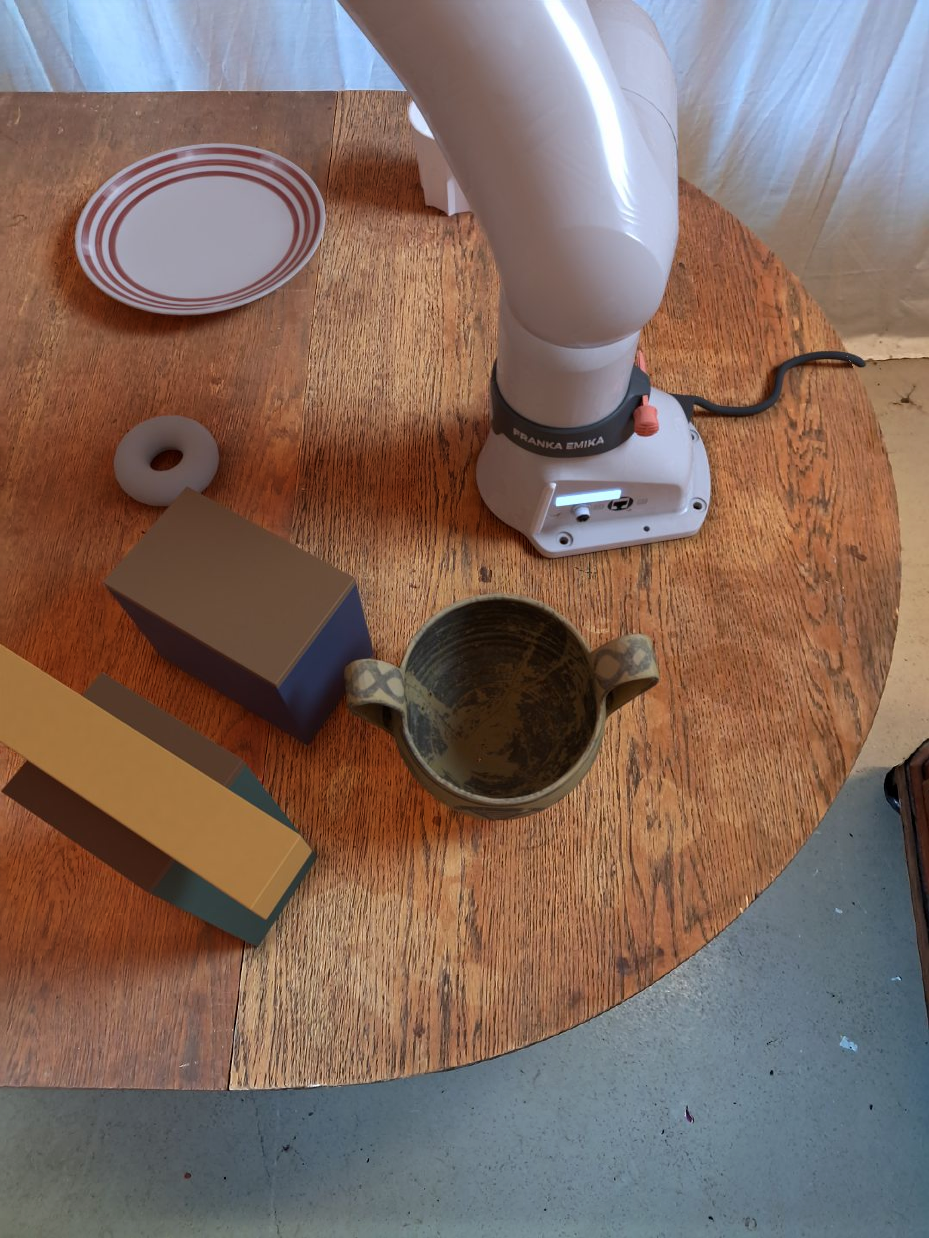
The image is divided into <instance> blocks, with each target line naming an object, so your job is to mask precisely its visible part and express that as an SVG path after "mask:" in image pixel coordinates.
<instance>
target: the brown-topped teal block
mask: <svg viewBox="0 0 929 1238" xmlns="http://www.w3.org/2000/svg"><path fill="white" fill-rule="evenodd" d="M80 695H81V696H83V697H84V698H86V699H87V700H89V701H90V702H92V703H94V704H95V705H97V706H98V707H100V708H101V709H103V710H105V711H106V712H108V713H109V714H111V715H112V716H114V717H116V718H117V719H119V720H120V721H122V722H123V723H125V724H127V725H128V726H130V727H131V728H133V729H134V730H136V731H138V732H139V733H141V734H142V735H144V736H145V737H147V738H149V739H150V740H152V741H153V742H155V743H156V744H158V745H160V746H161V747H163V748H164V749H166V750H167V751H169V752H170V753H172V754H174V755H175V756H177V757H178V758H180V759H181V760H183V761H185V762H186V763H188V764H189V765H191V766H192V767H194V768H196V769H197V770H199V771H200V772H202V773H203V774H205V775H207V776H208V777H210V778H211V779H213V780H214V781H216V782H218V783H219V784H221V785H222V786H224V787H225V788H227V789H229V790H230V791H232V792H233V793H235V794H236V795H238V796H240V797H241V798H243V799H244V800H246V801H247V802H249V803H250V804H252V805H254V806H255V807H257V808H258V809H260V810H261V811H263V812H265V813H266V814H268V815H269V816H271V817H272V818H274V819H276V820H277V821H279V822H280V823H282V824H283V825H285V826H287V827H288V828H290V829H291V830H293V831H294V832H296V833H298V834H299V835H300V836H301V837H302V838H303V840H304V841H305V842H306V843H307V845H308V846H309V847H310V848H311V850H312V852H311V854H310V855H309V857H308V858H307V860H306V861H305V863H304V864H303V866H302V867H301V869H300V870H299V872H298V873H297V875H296V876H295V878H294V879H293V881H292V882H291V884H290V885H289V887H288V888H287V890H286V891H285V892H284V894H283V895H282V897H281V898H280V900H279V901H278V903H277V904H276V906H275V907H274V909H273V910H272V912H271V913H270V915H269V916H268V918H267V919H266V920H265V919H263V918H261V917H260V916H258V915H257V914H255V913H254V912H252V911H251V910H249V909H248V908H246V907H245V906H243V905H242V904H240V903H239V902H237V901H236V900H234V899H233V898H231V897H230V896H228V895H227V894H225V893H224V892H222V891H221V890H219V889H218V888H216V887H215V886H213V885H212V884H210V883H209V882H207V881H206V880H204V879H203V878H201V877H200V876H198V875H197V874H196V873H194V872H193V871H191V870H190V869H188V868H187V867H185V866H184V865H182V864H181V863H179V862H178V861H176V860H175V859H173V858H172V857H170V856H169V855H167V854H166V853H164V852H163V851H161V850H160V849H158V848H157V847H155V846H154V845H152V844H151V843H149V842H148V841H146V840H145V839H143V838H142V837H140V836H139V835H138V834H136V833H135V832H133V831H132V830H130V829H129V828H127V827H126V826H124V825H123V824H121V823H120V822H118V821H117V820H115V819H114V818H112V817H111V816H109V815H108V814H106V813H105V812H103V811H102V810H100V809H99V808H97V807H96V806H94V805H93V804H91V803H90V802H88V801H87V800H85V799H84V798H82V797H81V796H80V795H78V794H77V793H75V792H74V791H72V790H71V789H69V788H68V787H66V786H65V785H63V784H62V783H60V782H59V781H57V780H56V779H54V778H53V777H51V776H50V775H48V774H47V773H45V772H44V771H42V770H41V769H39V768H38V767H36V766H35V765H33V764H32V763H30V762H29V761H27V760H26V761H25V762H24V763H23V764H22V765H21V766H20V768H19V769H18V770H17V771H16V772H15V774H14V775H13V776H12V777H11V778H10V780H9V781H8V782H7V783H6V784H5V785H4V787H3V788H2V789H1V790H0V792H1V793H3V795H5V796H7V797H8V798H9V799H11V800H12V801H14V802H16V803H17V804H18V805H20V806H21V807H22V808H24V809H26V810H27V811H28V812H29V813H31V814H32V815H34V816H36V817H37V818H38V819H40V820H42V821H43V822H44V823H46V824H47V825H49V826H50V827H52V828H53V829H54V830H56V831H58V832H59V833H60V834H62V835H63V836H65V837H66V838H67V839H69V840H71V841H72V842H73V843H75V844H76V845H77V846H79V847H81V848H82V849H83V850H85V851H86V852H88V853H89V854H91V855H92V856H94V857H95V858H97V859H98V860H100V861H101V862H102V863H104V864H105V865H106V866H108V867H110V869H113V870H114V871H116V872H117V873H118V874H120V875H121V876H123V877H124V878H125V879H127V880H128V881H130V882H132V883H133V884H134V885H135V886H137V887H139V889H142V890H143V891H144V892H146V893H148V894H150V895H152V896H154V897H156V898H158V899H160V900H162V901H164V902H166V903H168V904H170V905H172V906H174V907H176V908H178V909H179V910H182V911H184V912H186V913H187V914H190V915H192V916H194V917H196V918H198V919H200V920H202V921H203V922H206V923H208V924H210V925H212V926H214V927H215V928H218V929H220V930H222V931H224V932H226V933H228V934H229V935H232V936H233V937H235V938H238V939H240V940H242V941H244V942H245V943H248V944H250V945H251V946H254V947H256V948H259V947H260V945H261V944H262V943H263V941H264V939H265V938H266V936H267V935H268V933H269V932H270V930H271V929H272V927H273V926H274V924H275V923H276V921H277V920H278V918H279V917H280V915H281V914H282V912H283V910H284V909H285V908H286V906H287V905H288V903H289V902H290V900H291V899H292V897H293V896H294V894H295V893H296V891H297V889H298V888H299V886H300V885H301V884H302V882H303V881H304V880H305V877H306V876H307V875H308V873H309V872H310V870H311V868H312V867H313V865H314V864H315V863H316V861H317V859H318V858H319V856H318V854H317V853H316V852H315V851H314V850H313V849H314V848H312V847H311V846H310V844H309V843H308V842H307V840H306V839H305V838H304V837H303V835H302V834H301V832H299V830H298V828H297V827H296V826H295V825H294V824H293V822H292V821H291V820H290V819H289V817H288V816H287V815H286V813H285V812H284V810H282V808H281V807H280V806H279V805H278V803H277V802H276V800H275V799H274V798H273V797H272V795H271V794H270V793H269V791H268V790H267V789H266V788H265V786H264V785H263V784H262V783H261V781H260V780H259V778H258V777H257V776H256V775H255V773H254V772H253V771H252V769H251V768H250V767H249V766H248V765H247V763H246V762H245V760H244V759H242V758H241V757H239V756H238V755H236V754H234V753H233V752H231V751H230V750H229V749H226V748H224V747H223V746H222V745H220V744H219V743H216V742H215V741H214V740H213V739H211V738H209V737H207V736H205V735H204V734H203V733H201V732H199V731H198V730H196V729H194V728H193V727H191V726H189V725H188V724H186V723H185V722H183V721H182V720H180V719H178V718H177V717H175V716H173V715H172V714H170V713H169V712H168V711H165V710H164V709H162V708H161V707H159V706H157V705H156V704H155V703H153V702H151V701H150V700H148V699H146V698H145V697H143V696H142V695H140V694H138V693H137V692H135V691H134V690H132V689H130V688H129V687H127V686H126V685H125V684H122V683H120V681H117V680H116V679H114V678H113V677H111V676H110V675H108V674H106V673H105V672H103V671H100V673H98V675H97V676H96V678H94V680H93V681H92V682H91V683H90V685H89V686H88V687H87V688H86V689H85V690H84V691H83V693H82V694H80Z"/></svg>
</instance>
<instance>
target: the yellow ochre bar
mask: <svg viewBox="0 0 929 1238" xmlns="http://www.w3.org/2000/svg"><path fill="white" fill-rule="evenodd" d="M81 695H82V694H80V693H78V692H76V691H75V690H73V689H71V688H70V687H68V686H67V685H66V684H64V683H62V681H61V682H60V680H57V679H56V678H55V677H53V676H51V675H50V674H48V673H47V672H45V671H44V670H42V669H40V668H39V667H37V666H36V665H35V664H33V663H31V662H29V661H28V660H26V659H25V658H23V657H21V656H20V655H18V654H17V653H15V652H14V651H12V650H11V649H9V648H7V647H6V646H4V645H3V644H1V643H0V743H1V744H2V745H3V746H5V747H6V748H8V749H10V750H11V751H12V752H14V753H15V754H17V755H18V756H20V757H21V758H23V759H25V760H26V761H29V762H30V763H32V764H33V765H35V766H36V767H38V768H39V769H41V770H42V771H44V772H45V773H47V774H48V775H50V776H51V777H53V778H54V779H56V780H57V781H59V782H60V783H62V784H63V785H65V786H66V787H68V788H69V789H71V790H72V791H74V792H75V793H77V794H78V795H80V796H81V797H82V798H84V799H85V800H87V801H88V802H90V803H91V804H93V805H94V806H96V807H97V808H99V809H100V810H102V811H103V812H105V813H106V814H108V815H109V816H111V817H112V818H114V819H115V820H117V821H118V822H120V823H121V824H123V825H124V826H126V827H127V828H129V829H130V830H132V831H133V832H135V833H136V834H138V835H139V836H140V837H142V838H143V839H145V840H146V841H148V842H149V843H151V844H152V845H154V846H155V847H157V848H158V849H160V850H161V851H163V852H164V853H166V854H167V855H169V856H170V857H172V858H173V859H175V860H176V861H178V862H179V863H181V864H182V865H184V866H185V867H187V868H188V869H190V870H191V871H193V872H194V873H196V874H197V875H198V876H200V877H201V878H203V879H204V880H206V881H207V882H209V883H210V884H212V885H213V886H215V887H216V888H218V889H219V890H221V891H222V892H224V893H225V894H227V895H228V896H230V897H231V898H233V899H234V900H236V901H237V902H239V903H240V904H242V905H243V906H245V907H246V908H248V909H249V910H251V911H252V912H254V913H255V914H257V915H258V916H260V917H261V918H263V919H265V920H266V919H267V918H268V916H269V915H270V913H271V912H272V910H273V909H274V907H275V906H276V904H277V903H278V901H279V900H280V898H281V897H282V895H283V894H284V892H285V891H286V890H287V888H288V887H289V885H290V884H291V882H292V881H293V879H294V878H295V876H296V875H297V873H298V872H299V870H300V869H301V867H302V866H303V864H304V863H305V861H306V860H307V858H308V857H309V855H310V854H311V852H312V850H311V848H312V847H311V846H310V845H309V846H310V847H311V848H310V847H309V846H308V845H307V843H308V842H307V841H306V842H307V843H306V842H305V841H304V840H303V838H304V837H303V836H302V837H303V838H302V837H301V836H300V835H299V834H298V833H296V832H294V831H293V830H291V829H290V828H288V827H287V826H285V825H283V824H282V823H280V822H279V821H277V820H276V819H274V818H272V817H271V816H269V815H268V814H266V813H265V812H263V811H261V810H260V809H258V808H257V807H255V806H254V805H252V804H250V803H249V802H247V801H246V800H244V799H243V798H241V797H240V796H238V795H236V794H235V793H233V792H232V791H230V790H229V789H227V788H225V787H224V786H222V785H221V784H219V783H218V782H216V781H214V780H213V779H211V778H210V777H208V776H207V775H205V774H203V773H202V772H200V771H199V770H197V769H196V768H194V767H192V766H191V765H189V764H188V763H186V762H185V761H183V760H181V759H180V758H178V757H177V756H175V755H174V754H172V753H170V752H169V751H167V750H166V749H164V748H163V747H161V746H160V745H158V744H156V743H155V742H153V741H152V740H150V739H149V738H147V737H145V736H144V735H142V734H141V733H139V732H138V731H136V730H134V729H133V728H131V727H130V726H128V725H127V724H125V723H123V722H122V721H120V720H119V719H117V718H116V717H114V716H112V715H111V714H109V713H108V712H106V711H105V710H103V709H101V708H100V707H98V706H97V705H95V704H94V703H92V702H90V701H89V700H87V699H86V698H84V697H83V696H81Z"/></svg>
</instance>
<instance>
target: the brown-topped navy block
mask: <svg viewBox="0 0 929 1238" xmlns="http://www.w3.org/2000/svg"><path fill="white" fill-rule="evenodd" d="M102 584H103V585H104V587H105V588H106V589H107V591H109V593H110V594H111V596H112V597H113V598H114V599H115V601H116V602H117V603H118V604H119V605H120V607H121V608H122V609H123V611H124V612H125V613H126V615H127V616H128V617H129V619H130V620H131V621H132V622H133V624H134V625H135V627H137V629H138V630H139V631H140V633H141V634H142V635H143V636H144V638H145V639H146V641H147V642H148V643H149V644H150V646H151V647H152V648H153V650H154V651H155V652H156V653H157V654H158V655H159V657H160V658H161V659H163V660H165V661H166V662H168V663H169V664H170V665H173V666H175V667H176V668H177V669H179V670H181V671H182V672H184V673H186V674H187V675H189V676H191V677H192V678H194V679H196V680H197V681H199V682H201V683H202V684H204V685H206V686H207V687H208V688H211V689H212V690H214V691H216V692H217V693H219V694H221V695H222V696H224V697H226V698H227V699H228V700H231V701H232V702H234V703H236V704H237V705H239V706H240V707H242V708H244V709H245V710H247V711H248V712H250V713H252V714H253V715H254V716H256V717H258V718H260V719H261V720H263V721H265V722H266V723H268V724H269V725H271V726H273V727H275V728H276V729H278V730H280V731H282V732H283V733H285V734H286V735H288V736H290V737H291V738H293V739H294V740H296V741H298V742H300V743H301V744H303V745H305V746H306V747H309V746H311V743H312V742H313V740H314V739H315V738H316V736H317V735H318V734H319V732H320V731H321V730H322V728H323V727H324V725H325V724H326V722H327V721H328V720H329V718H330V717H331V716H332V714H333V713H334V711H335V709H336V708H337V706H339V704H340V703H341V701H342V699H343V698H344V697H345V695H346V686H345V678H344V671H345V667H346V666H348V665H349V664H350V663H352V662H353V661H356V660H360V659H372V657H373V656H374V654H375V653H374V648H373V644H372V641H371V637H370V632H369V629H368V624H367V620H366V616H365V613H364V608H363V604H362V600H361V596H360V591H359V587H358V584H357V580H356V577H355V576H352V575H350V574H349V573H347V572H345V571H343V570H341V569H340V568H338V567H336V566H334V565H332V564H330V563H328V562H327V561H325V560H323V559H321V558H320V557H317V556H316V555H314V554H312V553H310V552H309V551H307V550H305V549H303V548H301V547H299V546H297V545H295V544H294V543H292V542H291V541H288V540H287V539H285V538H283V537H281V536H279V535H277V534H275V532H272V531H271V530H268V529H266V528H265V527H263V526H261V525H259V524H257V523H255V522H254V521H252V520H250V519H248V518H246V517H244V516H242V515H240V514H239V513H237V512H235V511H233V510H232V509H230V508H228V507H226V506H224V505H222V504H221V503H219V502H217V501H215V500H214V499H211V498H209V497H208V496H206V495H204V494H202V493H198V492H197V491H195V490H193V489H191V488H189V487H186V488H185V489H184V490H183V491H182V492H181V494H180V495H179V496H178V497H177V498H176V499H175V500H174V501H173V503H172V504H171V505H170V506H167V508H166V509H165V510H164V512H163V513H162V514H161V515H160V516H159V518H157V519H156V521H154V523H153V524H152V525H151V526H150V527H149V529H148V530H147V531H146V532H145V533H144V534H143V535H142V536H141V537H140V539H139V540H137V542H136V543H135V545H133V546H132V548H131V549H130V550H129V551H128V553H126V555H125V556H124V557H123V558H122V559H121V560H120V562H118V564H117V565H116V566H115V567H114V568H113V569H112V570H111V572H109V574H108V575H107V576H106V577H105V578H104V579H103V580H102Z"/></svg>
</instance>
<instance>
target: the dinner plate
mask: <svg viewBox="0 0 929 1238" xmlns="http://www.w3.org/2000/svg"><path fill="white" fill-rule="evenodd" d="M325 207H326V206H325V204H324V200H323V197H322V194H321V192H320V190H319V188H318V186H317V185H316V183H315V182H314V181H313V179H312V178H311V177H310V176H309V175H308V173H306V172H305V171H304V170H303V169H302V168H301V167H299V166H298V165H297V164H295V163H294V162H292V161H290V160H289V159H287V158H285V157H283V156H281V155H279V154H276V153H274V152H273V151H269V150H266V149H262V148H260V147H255V146H250V145H244V144H238V143H237V144H236V143H218V142H217V143H215V142H214V143H199V144H192V145H191V144H190V145H184V146H180V147H176V148H171V149H168V150H164V151H160V152H157V153H154V154H152V155H149V156H147V157H144V158H142V159H139V160H137V161H135V162H134V163H132V164H130V165H128V166H127V167H125V168H123V169H121V170H120V171H118V172H116V173H115V174H114V175H113V176H112V177H110V178H109V179H108V180H107V181H105V182H104V183H103V184H102V185H101V186H100V187H99V188H98V189H97V190H96V191H95V192H94V193H93V194H92V196H91V197H90V198H89V200H88V201H87V203H86V204H85V206H84V208H83V209H82V211H81V213H80V215H79V218H78V220H77V222H76V227H75V231H74V232H75V234H74V247H75V252H76V257H77V261H78V263H79V265H80V267H81V269H82V271H83V272H84V275H86V277H87V279H89V280H90V282H91V283H92V284H93V285H94V286H95V287H97V289H98V290H100V291H101V292H102V293H103V294H105V295H107V296H109V297H110V298H111V299H114V300H115V301H117V302H119V303H122V304H124V305H126V306H128V307H132V308H135V309H138V310H141V311H145V312H149V313H153V314H161V315H170V316H200V315H206V314H214V313H219V312H223V311H228V310H231V309H234V308H235V309H236V308H239V307H241V306H244V305H247V304H250V303H252V302H254V301H256V300H259V299H261V298H263V297H265V296H267V295H269V294H271V293H272V292H274V291H276V290H277V289H279V288H281V286H283V285H284V284H286V283H287V282H289V281H290V280H291V279H292V278H293V277H295V276H296V275H297V274H298V273H299V272H300V271H302V269H303V268H304V267H305V265H306V264H307V263H308V262H309V261H310V259H311V258H312V257H313V255H314V254H315V252H316V251H317V249H318V247H319V245H320V243H321V241H322V238H323V236H324V230H325V226H326V208H325Z"/></svg>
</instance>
